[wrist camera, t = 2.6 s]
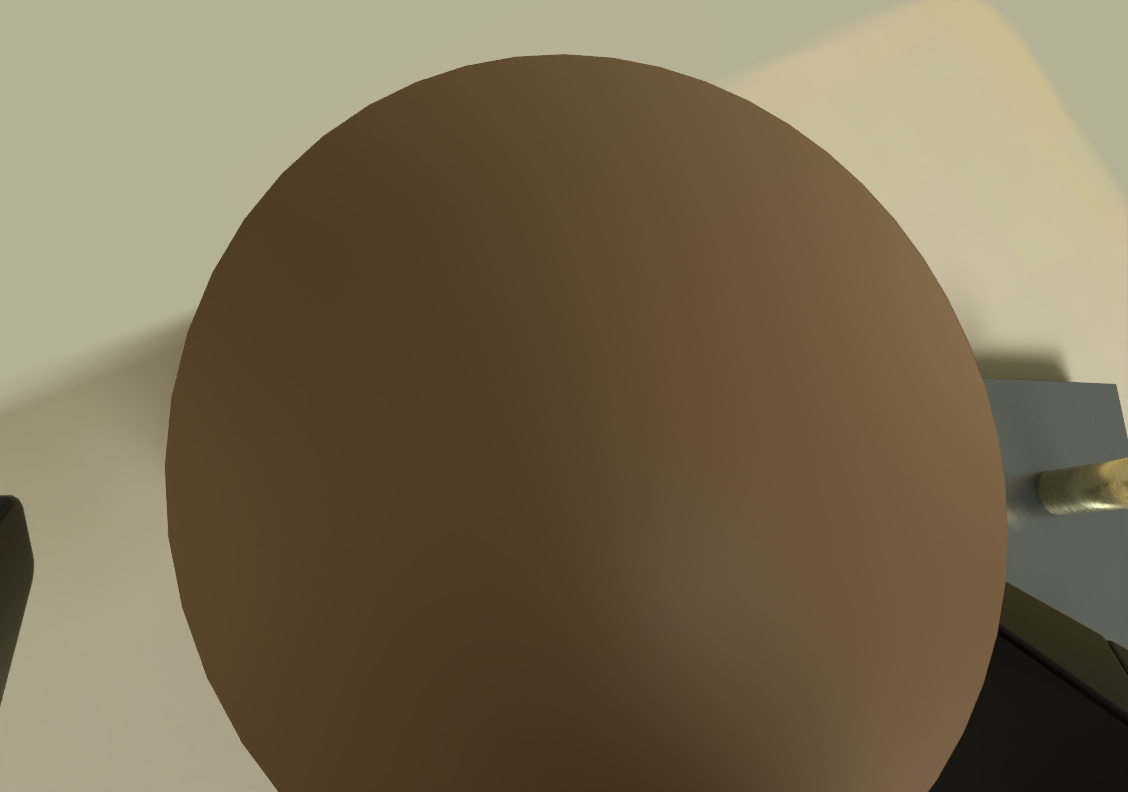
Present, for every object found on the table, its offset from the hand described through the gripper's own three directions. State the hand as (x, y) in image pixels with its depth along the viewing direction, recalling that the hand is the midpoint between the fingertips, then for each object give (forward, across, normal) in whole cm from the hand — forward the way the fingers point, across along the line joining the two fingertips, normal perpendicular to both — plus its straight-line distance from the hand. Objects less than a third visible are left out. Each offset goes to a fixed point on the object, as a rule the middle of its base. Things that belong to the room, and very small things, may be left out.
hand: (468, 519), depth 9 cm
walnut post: (+6, 0, +6) cm, 8 cm away
